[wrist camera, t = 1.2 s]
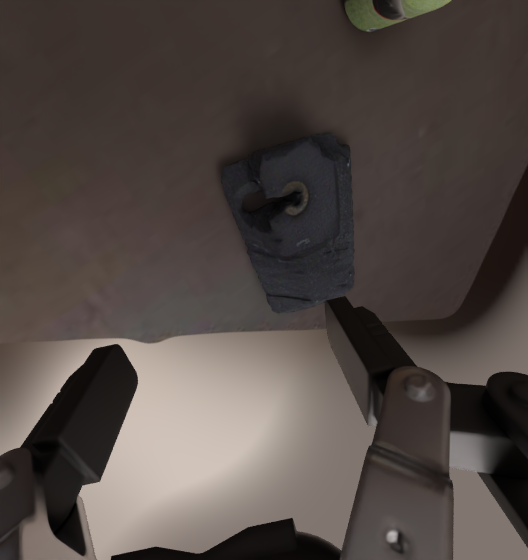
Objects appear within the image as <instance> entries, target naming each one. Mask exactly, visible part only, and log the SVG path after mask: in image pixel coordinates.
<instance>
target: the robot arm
mask: <svg viewBox="0 0 528 560" xmlns="http://www.w3.org/2000/svg"><path fill="white" fill-rule="evenodd" d="M325 314H326V325H327V334H328V339H329V342H330V345H331V348H332V350H333V352H334V354H335V356H336V359H337V360H338V363H339V365H340V367H341V369H342V371H343V373H344V376H345V378H346V380H347V382H348V384H349V386H350V388H351V391H352V393H353V395H354V397H355V399H356V401H357V404H358V405H359V408H360V410H361V412H362V414H363V416H364V419H365V421H366V423H367V425H368V426H372V425H377V426H376V431H375V434H374V439H373V442H372V445H371V446H369V448H368V450H367V453H366V457H365V460H364V464H363V468H362V472H361V476H360V480H359V484H358V488H357V492H356V496H355V500H354V504H353V508H352V511H351V515H350V520H349V523H348V528H347V531H346V535H345V539H344V543H343V547H342V551H341V550H340V549H338V548H337V547H335V546H334V545H332V544H331V543H330V542H328V541H326V540H324V539H322V538H320V537H318V536H314V535H312V534H308V533H304V532H298V531H296V528H295V524H294V521H293V519H292V518H290V519H285V520H280V521H276V522H271V523H266V524H261V525H256V526H252V527H248V528H246V529H244V530H242V531H241V532H239V533H238V534H235V535H234V536H232V537H230V538H229V539H227V540H225V541H223V542H222V543H220V544H218V545H216V546H214V547H213V548H211V549H210V550H207V551H206V552H204V553H200V554H195V553H190V552H184V551H178V550H172V549H166V548H161V547H152V548H148V549H143V550H138V551H133V552H128V553H124V554H119V555H114V556H112V557H111V560H453V505H454V503H453V502H454V501H453V500H454V498H453V484H452V480H450V477H449V468H455V469H462V470H468V471H475V472H477V473H478V474H479V476H480V477H481V479H482V480H483V482H484V483H485V484H486V486H487V487H488V489H489V491H490V492H491V494H492V495H493V497H494V498H495V499H496V501H497V502H498V504H499V506H500V507H501V508H502V510H503V512H504V513H505V514H506V516H507V517H508V519H509V520H510V522H511V523H512V525H513V526H514V528H515V529H516V531H517V532H518V534H519V535H520V537H521V538H522V540H523V541H524V543H525V544H526V546H527V547H528V375H525V374H521V373H516V372H499V373H496V374H494V375H492V376H491V377H490V378H489V379H488V381H487V384H486V386H482V385H468V384H455V383H448V382H444V381H443V380H442V379H441V378H440V377H439V376H437V375H436V374H434V373H433V372H430V371H429V370H426V369H423V368H420V367H417V366H416V365H415V364H414V362H413V361H412V360H411V358H410V357H409V356H408V355H407V353H406V352H405V351H404V350H403V348H401V346H400V345H399V344H398V342H397V341H396V340H395V339H394V338H393V336H392V335H391V334H390V333H389V332H388V330H387V329H386V327H385V326H384V325H382V322H381V321H380V320H379V319H378V317H377V316H376V315H375V314H374V313H373V312H371V311H369V310H368V309H366V308H364V307H362V306H361V307H357V308H353V306H352V305H351V303H350V302H349V301H348V299H347V298H346V297H345V296H344V297H339V298H334V299H330V300H325ZM137 384H138V377H137V373H136V371H135V369H134V368H133V366H132V364H131V362H130V361H129V359H128V357H127V356H126V354H125V352H124V351H123V349H122V348H121V346H120V345H118V344H114V345H109V346H105V347H100V348H96V349H94V350H93V351H92V353H91V354H90V355H89V357H88V358H87V360H86V361H85V363H84V364H83V365H82V366H81V367H80V368H79V369H78V370H76V371H75V372H74V373H73V374H72V375H71V376H70V377H69V378H68V380H67V381H66V383H65V384H64V385H63V387H62V388H61V390H60V392H59V393H58V394H57V395H56V397H55V398H54V400H53V403H52V404H50V405H49V407H48V408H47V410H46V411H45V412H44V414H43V415H42V417H41V418H40V420H39V421H38V423H37V424H36V425H35V427H34V428H33V430H32V431H31V433H30V434H29V435H28V437H27V438H26V440H25V441H24V443H23V444H22V445H21V447H20V448H16V449H13V450H10V451H8V452H6V453H4V454H3V455H1V456H0V560H97V559H96V556H95V552H94V548H93V543H92V540H91V534H90V530H89V526H88V521H87V517H86V513H85V508H84V503H83V500H82V498H81V497H80V496H79V495H78V494H79V492H80V490H81V487H82V485H86V484H91V483H96V482H100V480H101V477H102V475H103V472H104V470H105V467H106V465H107V462H108V460H109V457H110V455H111V452H112V450H113V447H114V444H115V442H116V439H117V437H118V434H119V432H120V429H121V427H122V424H123V422H124V419H125V417H126V414H127V411H128V409H129V406H130V404H131V401H132V399H133V396H134V394H135V391H136V388H137Z"/></svg>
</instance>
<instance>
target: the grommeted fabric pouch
mask: <svg viewBox="0 0 528 560" xmlns="http://www.w3.org/2000/svg"><path fill="white" fill-rule="evenodd" d="M247 160H248V161H246V160H240V161H238V163H237V164H231V165H230V166H229V167H224V168H223V173H222V184H223V185H224V192H225V196H226V199H227V200H228V202H229V205H230V207H231V209H232V213H233V216H234V218H235V220H236V223H237V225H238V227H239V230H240V232H241V235H242V237H243V239H244V240H245V244H246V246H247V247H248V251H247V253H248V254H249V256H250V259H251V263H252V265H253V268H254V269H255V270H256V272H257V273H258V277H259V279H260V281H261V283H262V287H263V289H264V291H265V292H266V296H267V301H268V304H269V305H270V306H271V307H272V310H273V311H274V312H276V313H279V314H280V313H288V312H295V311H298V310H302V309H307V308H309V307H314V306H316V305H319V304H322V303H325V300H330V299H333V298H335V297H339V296H341V295H343V294H345V293H346V292H347V291H349V290H351V289H352V288H353V286H354V267H353V260H354V256H353V254H354V249H353V245H354V238H353V237H354V231H353V228H354V225H353V218H352V217H353V211H352V206H353V200H352V188H351V180H352V176H351V160H350V147H349V146H348V145H344V146H341V145H340V144H338V143H337V140H336V136H335V135H332V134H324V135H321V134H317V135H315V136H307V137H303V138H302V139H299V140H296V141H291V142H288V143H283V144H279V145H277V146H273V147H270V148H267V149H263V150H258V151H256V152H254V153H253V155H248V157H247ZM258 191H263V193H264V195H265V197H266V198H267V199H269V198H271V197H283V196H285V198H284V199H283V200H282V201H281V202H280V203H270V204H268V205H266V206H264V207H262V208H260V209H258V210H256V211H254V212H251V213H248V212H247V211H245V210H244V209H243V205H242V201H243V198H244V197H245V196H246V195H247V194H252V193H255V192H258Z"/></svg>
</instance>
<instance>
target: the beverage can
mask: <svg viewBox="0 0 528 560" xmlns="http://www.w3.org/2000/svg"><path fill="white" fill-rule="evenodd" d="M450 1H451V0H344V6H345V10H346V13H347V16H348V18H349V19H350V21H351V22H352V24H353V25H354V26H355V27H357V28H358V29H360V30H362V31H367V32H371V31H376V30H379V29H382V28H384V27H387V26H390V25H393V24H396V23H399V22H401V21H404V20H407V19H410V18H413V17H416V16H418V15H421V14H424V13H427V12H430V11H432V10H435V9H438V8H440V7H442V6H444V5H445V4H447V3H449V2H450Z"/></svg>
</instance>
